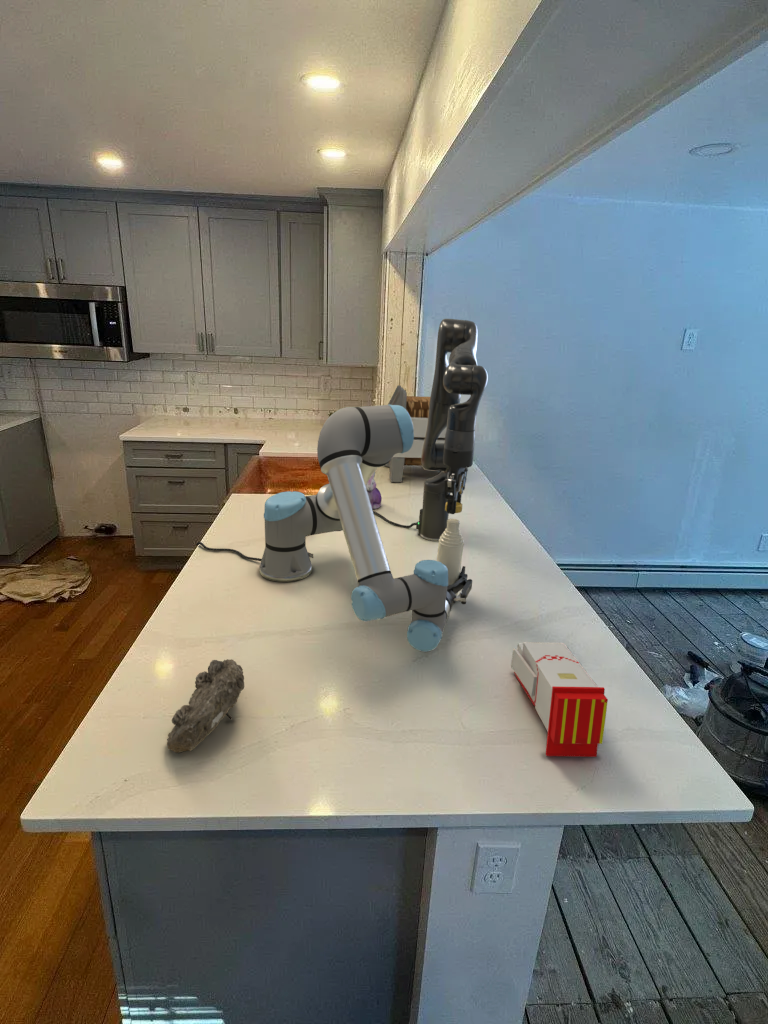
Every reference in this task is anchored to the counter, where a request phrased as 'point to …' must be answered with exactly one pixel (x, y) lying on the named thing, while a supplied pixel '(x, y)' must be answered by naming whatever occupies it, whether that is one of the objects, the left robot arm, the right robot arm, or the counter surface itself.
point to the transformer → (419, 417)
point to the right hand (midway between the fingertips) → (453, 510)
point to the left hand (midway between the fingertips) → (450, 568)
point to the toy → (562, 697)
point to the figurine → (373, 493)
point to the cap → (458, 507)
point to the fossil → (206, 705)
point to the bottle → (451, 550)
